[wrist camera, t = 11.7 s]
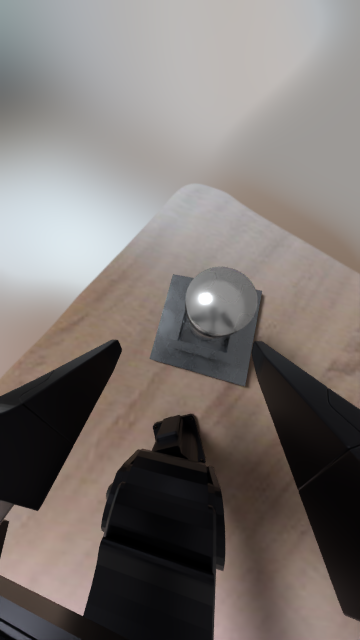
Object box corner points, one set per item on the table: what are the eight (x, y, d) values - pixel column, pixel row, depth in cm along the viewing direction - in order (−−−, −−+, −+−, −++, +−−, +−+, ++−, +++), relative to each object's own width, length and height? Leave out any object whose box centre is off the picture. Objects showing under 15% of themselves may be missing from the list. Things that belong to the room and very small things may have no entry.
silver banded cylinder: (226, 336, 21) (272, 323, 9) (194, 345, 22) (195, 345, 9) (215, 306, 22) (243, 255, 10) (185, 315, 23) (175, 277, 10)
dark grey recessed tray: (242, 384, 21) (251, 392, 18) (151, 358, 23) (144, 360, 20) (259, 293, 23) (270, 284, 20) (173, 277, 25) (170, 266, 22)
